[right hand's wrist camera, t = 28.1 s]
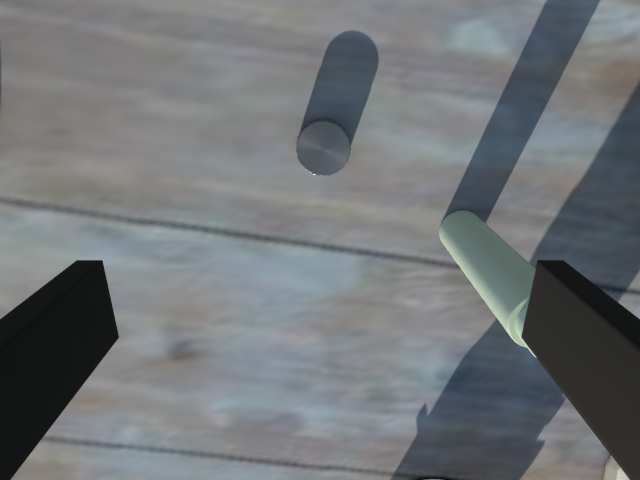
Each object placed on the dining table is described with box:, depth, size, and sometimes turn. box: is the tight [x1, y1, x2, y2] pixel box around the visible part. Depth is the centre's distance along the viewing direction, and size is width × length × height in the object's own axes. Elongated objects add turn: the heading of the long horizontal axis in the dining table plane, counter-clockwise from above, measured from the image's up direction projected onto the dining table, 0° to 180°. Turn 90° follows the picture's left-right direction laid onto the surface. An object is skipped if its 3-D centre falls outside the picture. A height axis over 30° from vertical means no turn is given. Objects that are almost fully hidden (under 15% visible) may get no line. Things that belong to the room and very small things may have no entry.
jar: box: [439, 210, 537, 358], centre depth 35 cm, size 4×4×20 cm
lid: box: [296, 118, 351, 176], centre depth 40 cm, size 5×5×2 cm
